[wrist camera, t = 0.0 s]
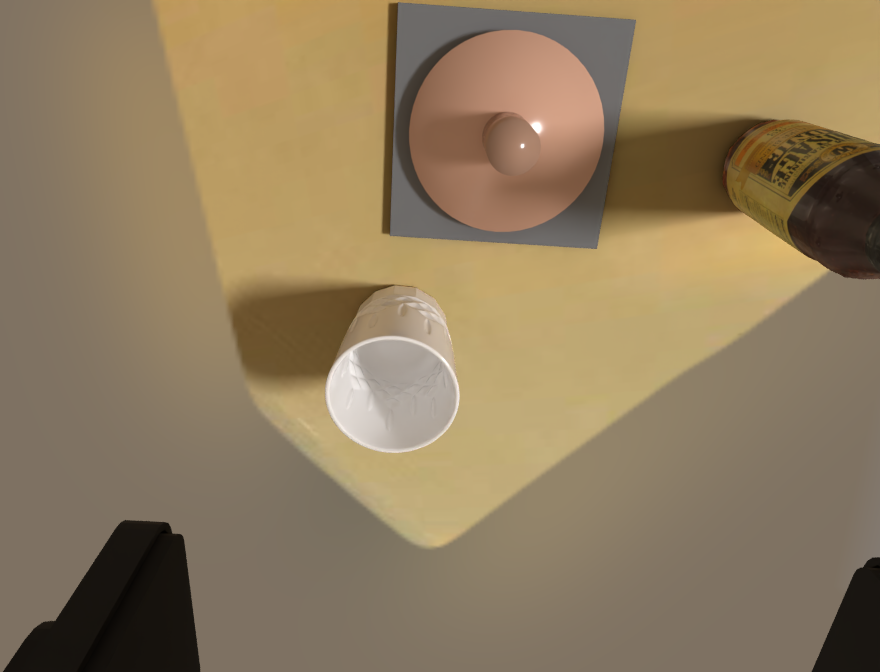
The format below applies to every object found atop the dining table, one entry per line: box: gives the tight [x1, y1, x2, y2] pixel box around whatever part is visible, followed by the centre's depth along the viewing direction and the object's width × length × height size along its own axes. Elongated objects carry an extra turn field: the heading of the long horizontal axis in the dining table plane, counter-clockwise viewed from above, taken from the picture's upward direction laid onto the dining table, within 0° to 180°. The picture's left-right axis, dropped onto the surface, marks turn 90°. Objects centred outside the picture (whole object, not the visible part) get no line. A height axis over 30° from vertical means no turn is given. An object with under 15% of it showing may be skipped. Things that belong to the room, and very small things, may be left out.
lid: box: [409, 30, 604, 232], centre depth 39 cm, size 12×12×5 cm
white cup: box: [325, 285, 459, 453], centre depth 43 cm, size 8×8×10 cm
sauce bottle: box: [723, 120, 880, 279], centre depth 34 cm, size 7×6×20 cm
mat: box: [390, 2, 636, 249], centre depth 42 cm, size 14×14×1 cm
